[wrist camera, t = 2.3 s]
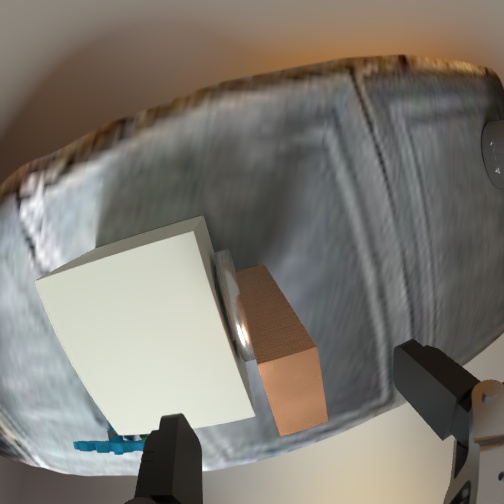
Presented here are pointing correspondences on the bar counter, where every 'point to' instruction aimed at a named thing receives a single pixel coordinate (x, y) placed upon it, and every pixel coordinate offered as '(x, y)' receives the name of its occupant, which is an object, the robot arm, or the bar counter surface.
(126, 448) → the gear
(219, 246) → the bar counter surface
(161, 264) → the block
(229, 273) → the wood and metal l-shape
